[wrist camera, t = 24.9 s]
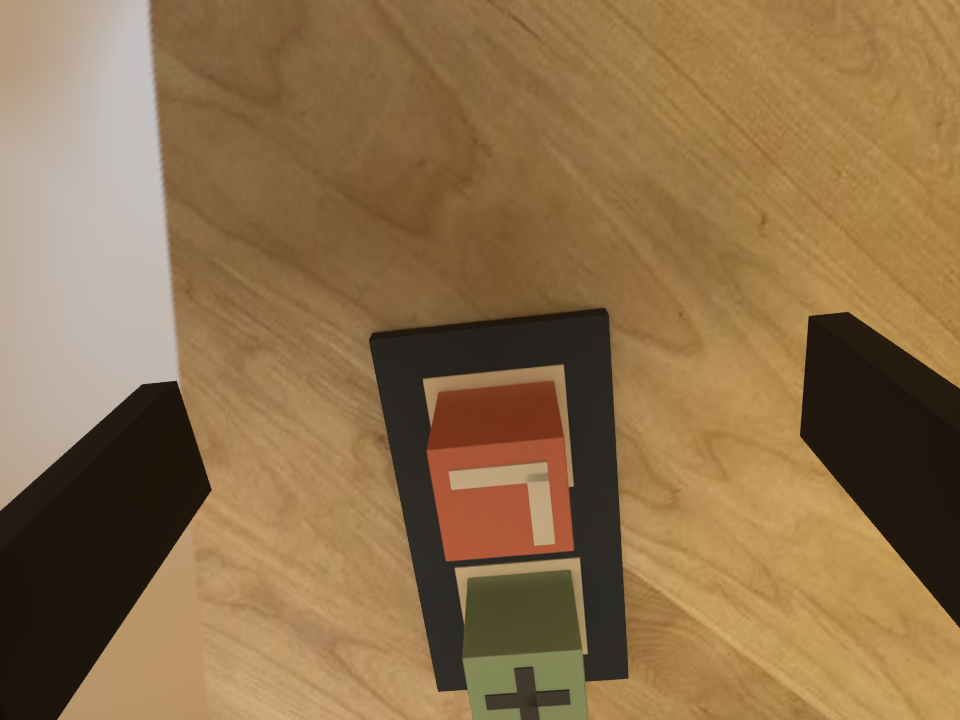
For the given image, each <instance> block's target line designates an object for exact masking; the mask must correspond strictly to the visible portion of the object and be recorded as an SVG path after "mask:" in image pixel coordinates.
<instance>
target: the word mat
mask: <svg viewBox="0 0 960 720" xmlns="http://www.w3.org/2000/svg"><path fill="white" fill-rule="evenodd" d="M369 343H370V348H371V353H372V358H373V363H374V368H375V373H376V379H377V384H378V389H379V394H380V399H381V404H382V409H383V414H384V419H385V424H386V429H387V434H388V440H389V445H390V450H391V455H392V460H393V465H394V470H395V475H396V480H397V485H398V490H399V495H400V500H401V506H402V511H403V516H404V521H405V526H406V531H407V536H408V541H409V546H410V551H411V556H412V561H413V567H414V572H415V577H416V582H417V587H418V592H419V597H420V602H421V607H422V612H423V617H424V622H425V628H426V633H427V638H428V643H429V648H430V653H431V658H432V663H433V668H434V673H435V678H436V683H437V689H438V692H441V691H456V690H468V688H467V683H466V677H465V671H464V666H463V660H462V656H463V641H464V625H465V610H466V595H467V580H468V578H478V577H490V576H503V575H515V574H528V573H540V572H552V571H565V570H571V574H572V581H573V588H574V595H575V602H576V609H577V615H578V622H579V629H580V636H581V643H582V650H583V662H584V673H585V682H587V681H601V680H616V679H628V678H629V677H628V658H627V640H626V622H625V604H624V586H623V567H622V549H621V531H620V513H619V495H618V476H617V458H616V440H615V422H614V403H613V385H612V367H611V349H610V331H609V315H608V312H607V310H606V309H596V310H587V311H578V312H568V313H559V314H550V315H540V316H531V317H522V318H513V319H503V320H494V321H485V322H475V323H466V324H457V325H447V326H438V327H429V328H420V329H410V330H401V331H392V332H382V333H373V334H372V335H371V337H370V339H369ZM548 381H554V383H555V388H556V394H557V399H558V405H559V411H560V416H561V422H562V427H563V433H564V439H565V450H566V462H567V473H568V485H569V496H570V507H571V519H572V530H573V542H574V550H573V551H566V552H554V553H542V554H530V555H518V556H506V557H494V558H482V559H470V560H458V561H446V560H445V554H444V548H443V543H442V537H441V531H440V526H439V520H438V514H437V508H436V503H435V497H434V491H433V486H432V480H431V474H430V469H429V463H428V457H427V446H428V441H429V436H430V431H431V426H432V421H433V416H434V411H435V406H436V401H437V396H438V393H439V392H449V391H459V390H469V389H479V388H489V387H498V386H508V385H518V384H528V383H538V382H548Z"/></svg>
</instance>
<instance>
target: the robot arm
mask: <svg viewBox="0 0 960 720" xmlns="http://www.w3.org/2000/svg"><path fill="white" fill-rule="evenodd" d="M800 437H801V438H802V439H803V440H804V441H805V443H806V444H807V445H808V446H809V447H810V449H811V450H812V451H813V452H814V453H815V455H816V456H817V457H818V458H819V459H820V461H821V462H822V463H823V464H824V465H825V467H826V468H827V469H828V470H829V471H830V473H831V474H832V475H833V476H834V477H835V479H836V480H837V481H838V482H839V483H840V485H841V486H842V487H843V488H844V489H845V491H846V492H847V493H848V494H849V495H850V497H851V498H852V499H853V500H854V501H855V503H856V504H857V505H858V506H859V507H860V509H861V510H862V511H863V512H864V513H865V515H866V516H867V517H868V518H869V519H870V521H871V522H872V523H873V524H874V525H875V527H876V528H877V529H878V530H879V531H880V533H881V534H882V535H883V536H884V537H885V539H886V540H887V541H888V542H889V544H890V545H891V546H892V547H893V548H894V550H895V551H896V552H897V553H898V554H899V556H900V557H901V558H902V559H903V560H904V562H905V563H906V564H907V565H908V566H909V568H910V569H911V570H912V571H913V572H914V574H915V575H916V576H917V577H918V578H919V580H920V581H921V582H922V583H923V584H924V586H925V587H926V588H927V589H928V590H929V592H930V593H931V594H932V595H933V596H934V598H935V599H936V600H937V601H938V602H939V604H940V605H941V606H942V607H943V608H944V610H945V611H946V612H947V613H948V614H949V616H950V617H951V618H952V619H953V620H954V622H955V623H956V624H957V625H958V626H959V628H960V389H959V388H958V387H957V386H955V385H954V384H952V383H951V382H949V381H948V380H946V379H945V378H943V377H942V376H941V375H939V374H938V373H936V372H935V371H933V370H932V369H930V368H929V367H927V366H926V365H925V364H923V363H922V362H920V361H919V360H917V359H916V358H914V357H913V356H911V355H910V354H909V353H907V352H906V351H904V350H903V349H901V348H900V347H898V346H897V345H895V344H894V343H893V342H891V341H890V340H888V339H887V338H885V337H884V336H882V335H881V334H879V333H878V332H876V331H875V330H874V329H872V328H871V327H869V326H868V325H866V324H865V323H863V322H862V321H860V320H859V319H858V318H856V317H855V316H853V315H852V314H850V313H849V312H843V313H834V314H824V315H814V316H809V320H808V334H807V348H806V361H805V375H804V389H803V402H802V416H801V429H800ZM211 490H212V489H211V486H210V483H209V480H208V477H207V474H206V470H205V467H204V464H203V461H202V458H201V455H200V452H199V449H198V446H197V442H196V439H195V436H194V433H193V430H192V427H191V424H190V421H189V418H188V415H187V411H186V408H185V405H184V402H183V399H182V396H181V393H180V390H179V387H178V383H177V381H171V382H160V383H152V384H142V385H141V386H140V387H139V388H138V389H136V390H135V391H134V392H133V393H132V394H131V395H130V396H128V397H127V399H125V400H124V401H123V402H122V403H121V404H120V405H118V406H117V407H116V408H115V409H114V410H113V411H112V412H111V413H109V414H108V415H107V416H106V417H105V418H104V419H103V420H102V421H101V422H99V424H97V425H96V426H95V427H94V428H93V429H92V430H90V431H89V432H88V433H87V434H86V435H85V436H84V437H83V438H81V439H80V440H79V441H78V442H77V443H76V444H75V445H74V446H73V447H72V448H71V449H69V450H68V451H67V452H66V453H65V454H64V455H63V456H61V457H60V458H59V459H58V460H57V461H56V462H55V463H54V464H52V465H51V466H50V467H49V468H48V469H47V470H46V471H45V472H43V473H42V474H41V475H40V476H39V477H38V478H37V479H36V480H34V481H33V482H32V483H31V484H30V485H29V486H28V487H27V488H26V489H25V490H23V491H22V492H21V493H20V494H19V495H18V496H17V497H15V499H13V500H12V501H11V502H10V503H9V504H8V505H7V506H6V507H4V508H3V509H2V510H1V511H0V720H57V719H58V717H59V716H60V715H61V713H62V712H63V710H64V709H65V707H66V705H67V704H68V703H69V701H70V699H71V698H72V697H73V695H74V694H75V692H76V691H77V689H78V688H79V686H80V685H81V683H82V682H83V680H84V679H85V677H86V676H87V675H88V673H89V672H90V670H91V669H92V667H93V666H94V664H95V663H96V661H97V660H98V658H99V657H100V655H101V654H102V652H103V651H104V649H105V648H106V646H107V645H108V643H109V642H110V640H111V639H112V637H113V636H114V634H115V633H116V631H117V630H118V628H119V627H120V625H121V624H122V623H123V621H124V619H125V618H126V617H127V615H128V614H129V612H130V611H131V609H132V608H133V606H134V605H135V603H136V602H137V600H138V599H139V597H140V596H141V594H142V593H143V591H144V590H145V588H146V587H147V585H148V584H149V582H150V581H151V579H152V578H153V576H154V575H155V573H156V572H157V570H158V569H159V568H160V566H161V565H162V563H163V561H164V560H165V558H166V557H167V556H168V554H169V553H170V551H171V550H172V548H173V547H174V545H175V544H176V542H177V541H178V539H179V538H180V536H181V535H182V533H183V532H184V530H185V529H186V527H187V526H188V524H189V523H190V521H191V520H192V518H193V517H194V515H195V514H196V513H197V511H198V510H199V508H200V507H201V505H202V504H203V502H204V501H205V499H206V498H207V496H208V495H209V493H210V492H211Z"/></svg>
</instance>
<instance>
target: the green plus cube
mask: <svg viewBox="0 0 960 720" xmlns="http://www.w3.org/2000/svg"><path fill="white" fill-rule="evenodd" d="M462 660H463V666H464V671H465V677H466V683H467V688H468V694H469V700H470V706H471V711H472V717H473V720H589V719H588V707H587V696H586V684H585V673H584V662H583V650H582V643H581V636H580V629H579V622H578V615H577V609H576V602H575V595H574V588H573V581H572V574H571V570H565V571H552V572H540V573H528V574H515V575H503V576H490V577H478V578H468V580H467V595H466V610H465V625H464V641H463V656H462Z"/></svg>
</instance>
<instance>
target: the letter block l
mask: <svg viewBox="0 0 960 720" xmlns="http://www.w3.org/2000/svg"><path fill="white" fill-rule="evenodd" d="M427 457H428V463H429V469H430V474H431V480H432V486H433V491H434V497H435V503H436V508H437V514H438V520H439V526H440V531H441V537H442V543H443V548H444V554H445V560H446V561H458V560H470V559H482V558H494V557H506V556H518V555H530V554H542V553H554V552H566V551H573V550H574V542H573V530H572V519H571V507H570V496H569V485H568V473H567V462H566V450H565V439H564V433H563V427H562V422H561V416H560V411H559V405H558V399H557V394H556V388H555V383H554V381H548V382H538V383H528V384H518V385H508V386H498V387H489V388H479V389H469V390H459V391H449V392H439V393H438V396H437V401H436V406H435V411H434V416H433V421H432V426H431V431H430V436H429V441H428V446H427Z"/></svg>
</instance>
